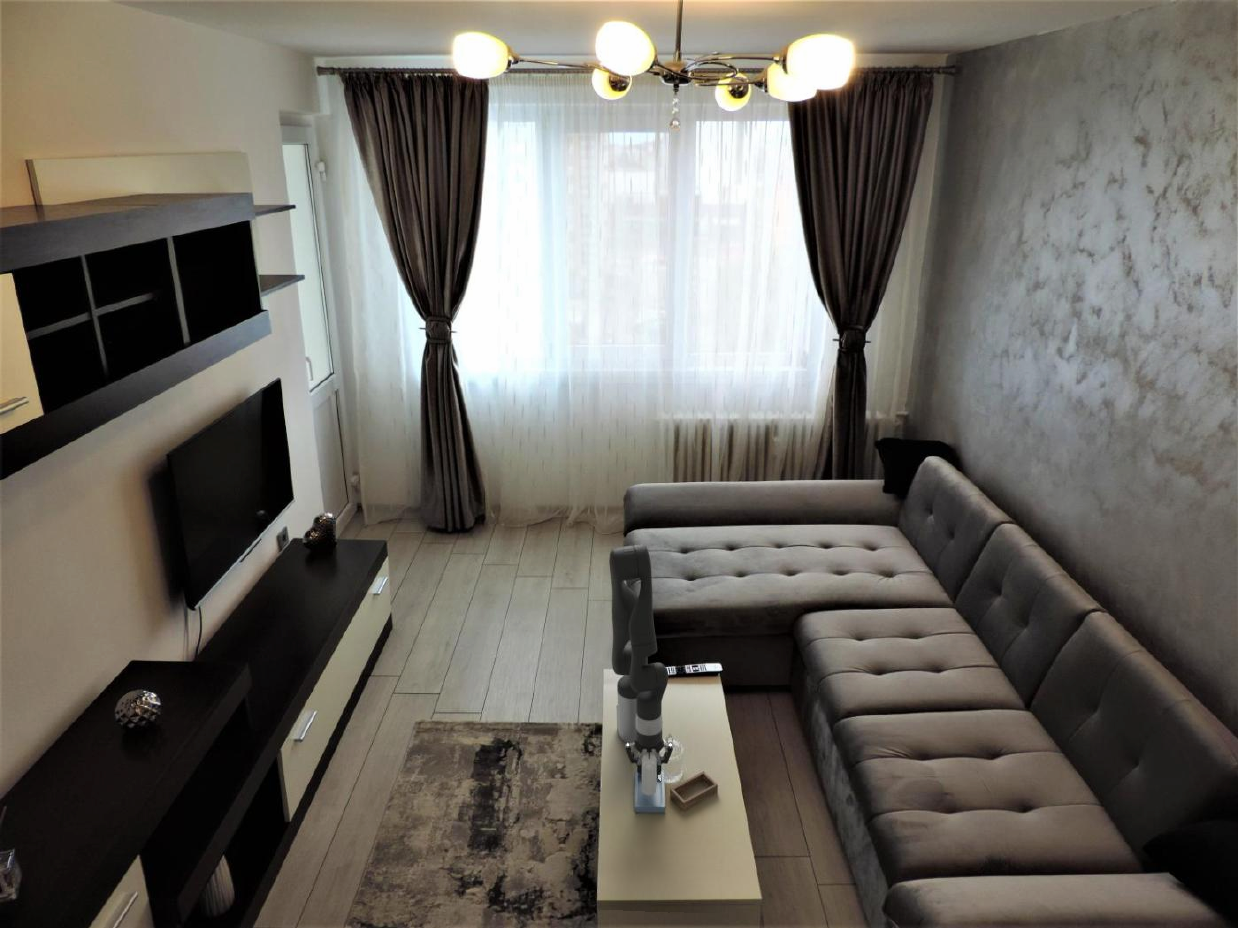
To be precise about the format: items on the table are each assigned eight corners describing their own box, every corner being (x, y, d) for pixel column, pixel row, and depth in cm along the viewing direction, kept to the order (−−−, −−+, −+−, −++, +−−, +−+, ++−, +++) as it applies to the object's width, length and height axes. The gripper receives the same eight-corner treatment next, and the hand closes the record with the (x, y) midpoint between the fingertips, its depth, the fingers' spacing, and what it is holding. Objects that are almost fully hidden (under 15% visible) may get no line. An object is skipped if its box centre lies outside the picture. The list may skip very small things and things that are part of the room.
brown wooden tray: (670, 796, 253) (670, 788, 252) (703, 778, 259) (703, 770, 258) (683, 810, 248) (684, 803, 247) (717, 792, 254) (717, 784, 253)
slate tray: (635, 776, 260) (635, 770, 259) (663, 776, 260) (663, 770, 259) (634, 813, 247) (634, 806, 246) (665, 813, 247) (665, 806, 246)
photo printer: (641, 769, 256) (641, 736, 251) (656, 769, 256) (656, 736, 251) (641, 795, 247) (641, 762, 242) (656, 796, 247) (656, 762, 242)
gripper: (623, 734, 240) (624, 781, 247) (674, 734, 240) (674, 782, 247) (623, 716, 247) (624, 763, 254) (674, 716, 247) (673, 763, 253)
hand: (649, 772), depth 250 cm, fingers closed on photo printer, 4 cm apart
